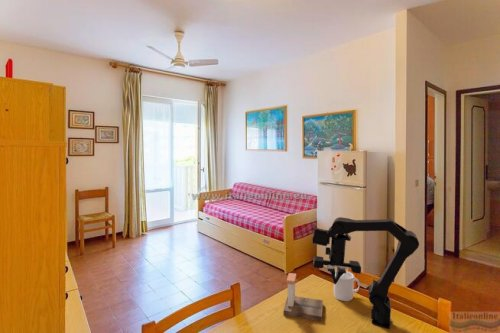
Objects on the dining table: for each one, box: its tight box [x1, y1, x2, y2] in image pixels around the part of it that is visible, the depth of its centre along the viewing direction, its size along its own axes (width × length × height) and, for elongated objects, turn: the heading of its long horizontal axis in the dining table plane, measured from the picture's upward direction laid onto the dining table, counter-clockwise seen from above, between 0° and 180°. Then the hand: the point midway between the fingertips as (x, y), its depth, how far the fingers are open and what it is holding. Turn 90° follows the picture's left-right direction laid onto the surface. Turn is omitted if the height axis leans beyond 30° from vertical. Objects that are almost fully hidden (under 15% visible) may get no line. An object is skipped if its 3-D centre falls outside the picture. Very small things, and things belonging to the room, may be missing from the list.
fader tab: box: [286, 272, 297, 307], centre depth 122 cm, size 3×7×12 cm, turn 164°
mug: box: [333, 270, 361, 302], centre depth 131 cm, size 9×12×11 cm
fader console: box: [283, 295, 324, 322], centre depth 121 cm, size 16×12×2 cm
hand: (334, 283), depth 119 cm, fingers closed
